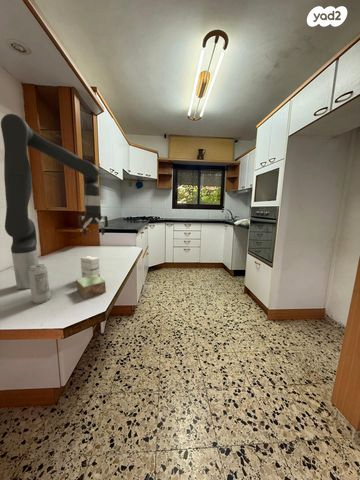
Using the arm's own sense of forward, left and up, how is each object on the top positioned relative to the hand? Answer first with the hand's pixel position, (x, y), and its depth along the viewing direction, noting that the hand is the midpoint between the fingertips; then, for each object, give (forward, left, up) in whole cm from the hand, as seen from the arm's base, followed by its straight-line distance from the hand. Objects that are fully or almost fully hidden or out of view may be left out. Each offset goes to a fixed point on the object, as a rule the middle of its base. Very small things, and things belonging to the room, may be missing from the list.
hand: (94, 235), depth 102 cm
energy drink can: (-27, -14, -23) cm, 39 cm away
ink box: (-4, -4, -23) cm, 24 cm away
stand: (-9, -19, -23) cm, 31 cm away
